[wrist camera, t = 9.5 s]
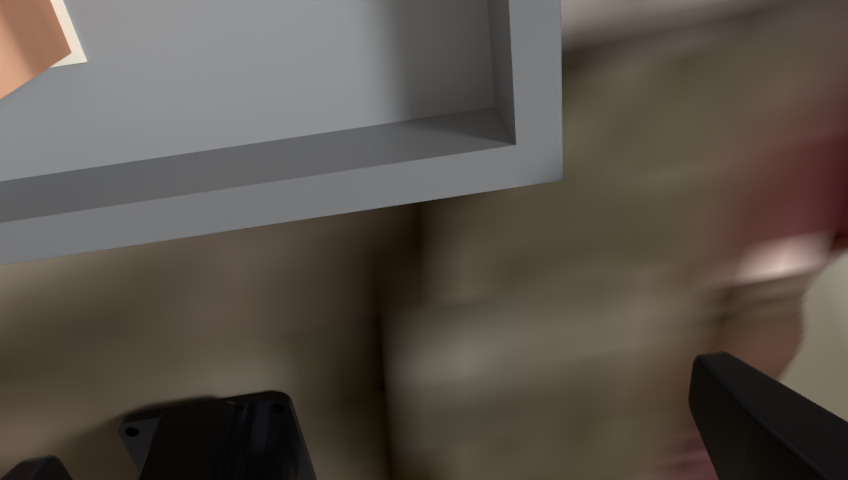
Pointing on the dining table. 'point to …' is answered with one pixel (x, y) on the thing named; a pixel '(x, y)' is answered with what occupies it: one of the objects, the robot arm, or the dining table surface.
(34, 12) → the terracotta block
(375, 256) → the dining table surface
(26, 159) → the two-wall tray
